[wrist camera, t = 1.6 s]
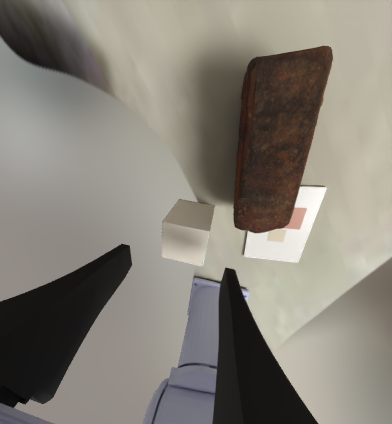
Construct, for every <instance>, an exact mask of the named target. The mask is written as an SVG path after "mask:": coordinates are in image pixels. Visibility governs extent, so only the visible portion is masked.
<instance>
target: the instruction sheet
mask: <svg viewBox="0 0 392 424" xmlns="http://www.w3.org/2000/svg"><path fill="white" fill-rule="evenodd" d="M326 189H327V187H316V186H300V189H299V193H298V196H297V200H296V203H295V207H294V211H293V214H292V217H291V220H290V223H289V224H288V225H287V226H285V227H284V228H283V229H275V230H272V231H268V232H264V233H253V232H249V231H248V232H247V239H246V245H245V251H244V257H251V258H260V259H269V260H278V261H286V262H295V263H298V261H299V259H300V256H301V254H302V251H303V248H304V246H305V243H306V241H307V238H308V235H309V233H310V230H311V228H312V225H313V222H314V220H315V217H316V215H317V212H318V210H319V207H320V204H321V202H322V199H323V197H324V194H325V191H326Z"/></svg>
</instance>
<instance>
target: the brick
mask: <svg viewBox="0 0 392 424" xmlns="http://www.w3.org/2000/svg"><path fill="white" fill-rule="evenodd" d="M332 60H333V55H332V49H331V47H329V46H321V47H317V48H311V49H306V50H300V51H294V52H288V53H282V54H277V55H271V56H263V57H256V58H254V59H252V60H251V61H250V63H249V65H248V68H247V72H246V74H245V77H244V82H243V88H242V96H241V99H242V108H241V116H240V127H239V142H238V154H237V169H236V182H235V194H234V207H233V208H234V224H235V227H236V228H238V229H240V230H248V231H249V232H253V233H264V232H268V231H272V230H275V229H283V228H284V227H285V226H287V225H288V224H289V223H290V220H291V217H292V214H293V211H294V207H295V203H296V200H297V196H298V193H299V189H300V184H301V180H302V177H303V173H304V169H305V165H306V162H307V158H308V154H309V150H310V146H311V143H312V139H313V135H314V130H315V126H316V124H317V119H318V114H319V110H320V107H321V106H322V103H323V95H324V91H325V87H326V84H327V80H328V76H329V73H330V70H331V67H332Z"/></svg>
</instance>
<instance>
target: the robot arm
mask: <svg viewBox="0 0 392 424" xmlns="http://www.w3.org/2000/svg"><path fill="white" fill-rule="evenodd" d="M131 266H132V261H131V253H130V246H129V245H125V244H121V245H119V246H118V247H116V248H114V249H113V250H111V251H109V252H107V253H106V254H104V255H103V256H101V257H99V258H97V259H96V260H94V261H92V262H90V263H88V264H87V265H85V266H83V267H81V268H79V269H77V270H75V271H74V272H72V273H70V274H67V275H65V276H63V277H61V278H59V279H57V280H55V281H52V282H50V283H48V284H46V285H43V286H40V287H38V288H36V289H33V290H31V291H28V292H26V293H23V294H20V295H18V296H15V297H12V298H9V299H7V300H4V301H1V302H0V424H53V423H50V422H48V421H45V420H43V419H40V418H38V417H35V416H33V415H30V414H27V413H25V412H22V411H19V410H17V409H14V407H15V405H16V404H17V403H18V402H20V403H23V404H26V403H27V402H28V401H29V399H31V400H33V401H36V402H39V403H41V404H44V403H46V402H48V401H49V400H51V399H52V398H53V397H54V395H55V393H56V391H57V389H58V387H59V385H60V383H61V381H62V379H63V377H64V375H65V373H66V371H67V369H68V367H69V365H70V364H71V362H72V360H73V358H74V356H75V354H76V353H77V351H78V349H79V347H80V345H81V344H82V342H83V340H84V338H85V337H86V335H87V333H88V331H89V330H90V328H91V326H92V325H93V323H94V321H95V320H96V318H97V316H98V315H99V313H100V312H101V310H102V309H103V307H104V306H105V305H106V303H107V302H108V300H109V299H110V298H111V296H112V295H113V294H114V292H115V291H116V289H117V288H118V286H119V285H120V284H121V282H122V281H123V280H124V278H125V277H126V275H127V273H128V271H129V270H130V268H131ZM249 295H250V293H249V291H248V290H246V289H242V288H241V287H240V284H239V281H238V278H237V275H236V271H235V270H234V269H230V268H225V271H224V274H223V278H222V281H221V283H217V282H213V281H209V280H205V279H200V278H194V279H193V283H192V290H191V296H190V302H189V308H188V316H189V317H188V322H187V327H186V332H185V336H184V341H183V345H182V350H181V355H180V359H179V364H178V368H173V367H172V369H171V373H170V377H169V378H168V379H165V380H164V381H163V382H162V383H161V384H160V386H159V388H158V389H157V390H156V392H155V393H154V395H153V397H152V399H151V401H150V404H149V406H148V409H147V411H146V414H145V418H144V421H143V424H318V423H317V421H316V420H315V419H314V417H313V416H312V414H311V413H310V411H309V410H308V408H307V407H306V406H305V404H304V403H303V401H302V400H301V398H300V397H299V395H298V394H297V392H296V391H295V389H294V388H293V386H292V385H291V383H290V381H289V380H288V379H287V377H286V375H285V374H284V372H283V370H282V369H281V367H280V366H279V364H278V362H277V361H276V359H275V357H274V356H273V354H272V352H271V350H270V349H269V347H268V345H267V343H266V341H265V340H264V338H263V336H262V334H261V332H260V330H259V328H258V326H257V324H256V322H255V320H254V318H253V316H252V314H251V312H250V309H249V307H248V305H247V302H246V301H247V299H248V297H249Z"/></svg>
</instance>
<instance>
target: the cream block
mask: <svg viewBox="0 0 392 424" xmlns="http://www.w3.org/2000/svg"><path fill="white" fill-rule="evenodd" d="M214 207H215V206H213V205H207V204H202V203H197V202H192V201H186V200H181V199H179V200H178V202H177V203H176V204H175V206H174V207H173V208H172V210H171V211H170V212H169V214H168V215H167V216H166V218H165V219H164V220H163V221H162V257H164V258H168V259H172V260H176V261H181V262H185V263H190V264H193V265H198V266H202V267H203V264H204V259H205V254H206V249H207V244H208V238H209V233H210V228H211V223H212V218H213V213H214Z"/></svg>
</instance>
